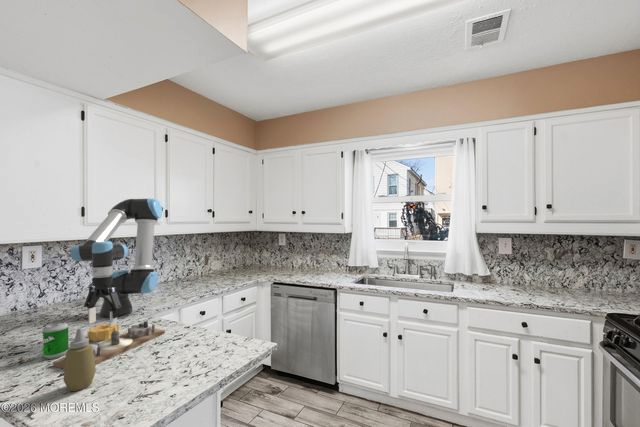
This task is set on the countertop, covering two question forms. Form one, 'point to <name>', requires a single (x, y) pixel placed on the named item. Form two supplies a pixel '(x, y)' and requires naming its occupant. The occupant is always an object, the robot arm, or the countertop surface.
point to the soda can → (55, 340)
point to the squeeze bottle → (79, 363)
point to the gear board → (120, 342)
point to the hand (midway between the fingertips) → (102, 324)
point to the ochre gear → (101, 332)
